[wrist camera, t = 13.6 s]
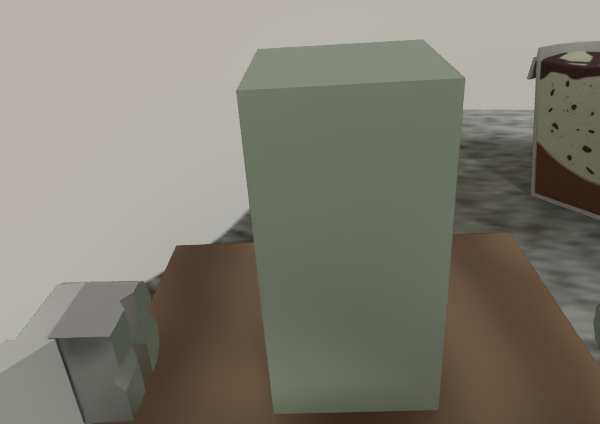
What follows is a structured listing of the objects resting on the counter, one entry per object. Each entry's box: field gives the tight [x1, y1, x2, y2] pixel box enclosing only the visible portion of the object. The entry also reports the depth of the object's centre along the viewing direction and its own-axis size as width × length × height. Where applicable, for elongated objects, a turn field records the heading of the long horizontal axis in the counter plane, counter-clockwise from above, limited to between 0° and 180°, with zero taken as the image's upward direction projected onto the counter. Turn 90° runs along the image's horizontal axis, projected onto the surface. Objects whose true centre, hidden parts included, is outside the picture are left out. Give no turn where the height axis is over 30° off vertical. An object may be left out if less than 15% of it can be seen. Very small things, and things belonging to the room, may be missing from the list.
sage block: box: [236, 40, 465, 414], centre depth 16 cm, size 5×5×10 cm
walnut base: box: [96, 232, 600, 424], centre depth 19 cm, size 16×16×4 cm
